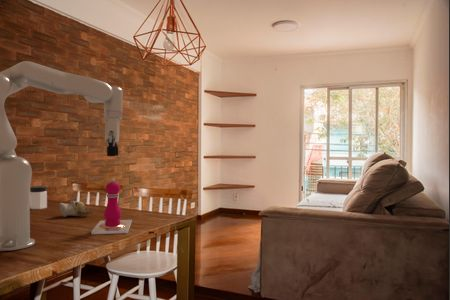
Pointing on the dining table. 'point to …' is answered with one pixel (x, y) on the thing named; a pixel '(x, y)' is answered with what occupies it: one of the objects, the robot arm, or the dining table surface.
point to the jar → (38, 197)
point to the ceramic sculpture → (74, 209)
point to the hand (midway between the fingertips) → (112, 155)
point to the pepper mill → (112, 204)
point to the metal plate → (112, 228)
